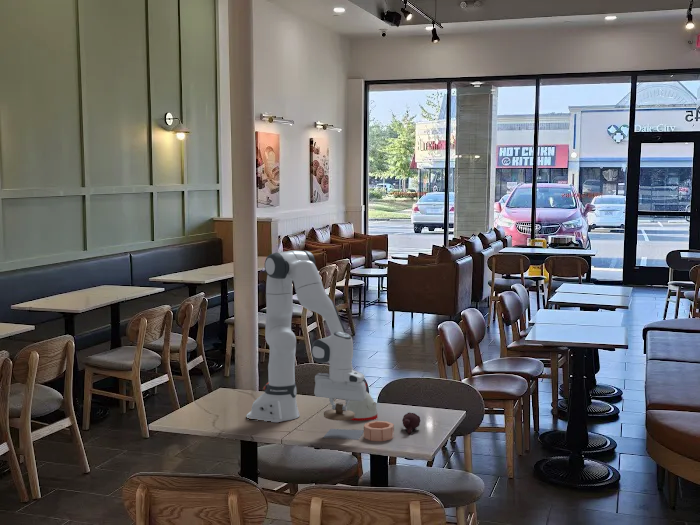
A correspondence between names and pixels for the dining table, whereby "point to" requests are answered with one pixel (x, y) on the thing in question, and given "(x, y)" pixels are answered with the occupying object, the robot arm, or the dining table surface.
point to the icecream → (411, 421)
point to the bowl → (379, 431)
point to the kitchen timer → (363, 408)
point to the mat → (344, 434)
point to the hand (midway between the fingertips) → (339, 410)
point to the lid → (339, 413)
